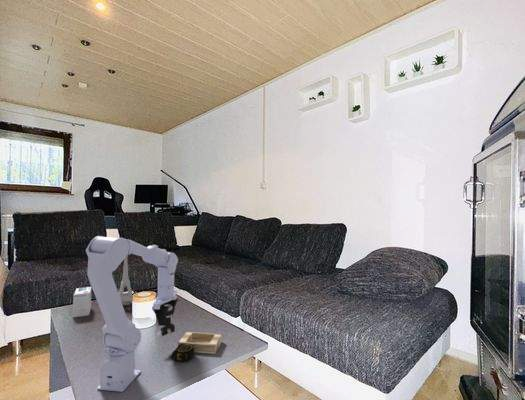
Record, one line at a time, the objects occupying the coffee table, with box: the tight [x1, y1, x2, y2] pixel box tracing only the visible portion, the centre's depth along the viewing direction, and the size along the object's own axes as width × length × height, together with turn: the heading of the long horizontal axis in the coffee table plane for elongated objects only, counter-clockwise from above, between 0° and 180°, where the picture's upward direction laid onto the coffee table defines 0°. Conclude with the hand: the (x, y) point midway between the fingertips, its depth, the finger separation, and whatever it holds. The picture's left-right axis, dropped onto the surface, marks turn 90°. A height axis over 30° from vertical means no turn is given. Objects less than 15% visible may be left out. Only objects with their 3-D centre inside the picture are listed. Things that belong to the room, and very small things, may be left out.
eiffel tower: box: [118, 255, 135, 303], centre depth 143 cm, size 13×13×30 cm
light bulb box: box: [72, 286, 92, 318], centre depth 134 cm, size 11×7×11 cm, turn 28°
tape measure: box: [169, 343, 195, 362], centre depth 96 cm, size 7×7×4 cm
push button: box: [156, 304, 176, 337], centre depth 102 cm, size 7×5×10 cm
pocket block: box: [177, 331, 223, 355], centre depth 104 cm, size 9×14×3 cm, turn 83°
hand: (165, 321), depth 102 cm, fingers closed on push button, 5 cm apart
